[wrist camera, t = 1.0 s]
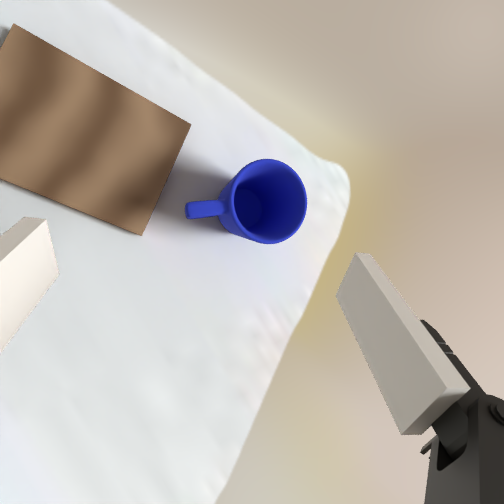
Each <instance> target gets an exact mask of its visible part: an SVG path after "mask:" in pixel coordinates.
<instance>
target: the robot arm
mask: <svg viewBox="0 0 504 504" xmlns="http://www.w3.org/2000/svg"><path fill="white" fill-rule="evenodd" d="M59 274H60V273H59V269H58V265H57V261H56V257H55V253H54V249H53V245H52V241H51V237H50V233H49V229H48V225H47V221H46V219H39V218H29V217H24V218H22V219H21V220H20V221H19V222H17V223H16V224H15V225H14V226H13V227H11V228H10V229H9V230H8V231H6V232H5V233H4V234H3V235H1V236H0V354H1V352H2V351H3V350H4V348H5V347H6V346H7V344H8V343H9V342H10V340H11V339H12V338H13V336H14V335H15V333H16V332H17V331H18V329H19V328H20V327H21V325H22V324H23V323H24V321H25V320H26V319H27V317H28V316H29V315H30V313H31V312H32V311H33V309H34V308H35V307H36V305H37V304H38V303H39V301H40V300H41V299H42V297H43V296H44V295H45V293H46V292H47V291H48V289H49V288H50V287H51V285H52V284H53V283H54V281H55V280H56V278H57V277H58V276H59ZM336 298H337V299H338V302H339V304H340V306H341V308H342V310H343V312H344V315H345V317H346V319H347V321H348V323H349V325H350V327H351V329H352V331H353V333H354V336H355V338H356V340H357V342H358V344H359V346H360V349H361V351H362V353H363V355H364V357H365V359H366V361H367V363H368V366H369V368H370V370H371V372H372V374H373V376H374V378H375V380H376V382H377V384H378V387H379V389H380V391H381V393H382V395H383V397H384V399H385V401H386V403H387V406H388V408H389V410H390V412H391V414H392V416H393V419H394V421H395V423H396V425H397V427H398V429H399V431H400V433H401V435H414V434H415V435H419V434H420V435H421V434H422V433H424V432H425V431H426V430H427V429H428V428H429V427H430V426H431V425H432V427H433V429H434V431H435V432H436V434H437V435H436V436H435V437H434V438H433V439H431V440H430V441H429V442H428V443H427V444H426V445H425V446H423V448H422V449H421V452H420V453H422V454H425V453H426V452H427V451H428V450H430V449H431V454H430V457H429V459H430V462H429V470H428V479H427V487H426V494H425V503H424V504H504V400H502V399H500V398H497V397H495V396H493V395H487V394H486V393H485V392H484V391H483V390H482V389H481V387H480V386H479V385H478V383H477V382H476V381H475V379H474V378H473V377H472V376H471V374H470V373H469V372H468V370H467V369H466V368H465V367H464V365H463V364H462V363H461V361H460V360H459V359H458V358H457V356H456V355H454V354H453V351H452V350H451V349H450V347H449V346H448V345H446V344H445V343H446V342H445V341H444V340H443V338H442V337H441V336H440V335H439V333H438V332H437V331H436V330H435V329H434V328H433V327H432V326H430V325H429V324H428V323H427V322H425V321H424V320H419V319H418V317H417V316H416V315H415V313H414V312H413V311H412V309H411V308H410V307H409V305H408V304H407V302H406V301H405V300H404V298H403V297H402V296H401V294H400V293H399V292H398V290H397V289H396V288H395V286H394V285H393V284H392V282H391V281H390V280H389V278H388V277H387V276H386V274H385V273H384V272H383V270H382V269H381V268H380V266H379V265H378V264H377V262H376V261H375V260H374V258H373V257H372V255H371V254H365V253H357V252H356V253H355V255H354V257H353V259H352V261H351V263H350V266H349V268H348V270H347V272H346V274H345V276H344V278H343V281H342V283H341V285H340V287H339V289H338V292H337V294H336Z"/></svg>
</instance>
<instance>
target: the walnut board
mask: <svg viewBox="0 0 504 504" xmlns="http://www.w3.org/2000/svg"><path fill="white" fill-rule="evenodd" d="M190 127H191V124H190V123H188V122H186V121H184V120H183V119H181V118H179V117H177V116H176V115H174V114H172V113H170V112H169V111H167V110H165V109H163V108H162V107H160V106H158V105H156V104H155V103H153V102H151V101H149V100H147V99H146V98H144V97H142V96H140V95H139V94H137V93H135V92H133V91H132V90H130V89H128V88H126V87H125V86H123V85H121V84H119V83H118V82H116V81H114V80H112V79H111V78H109V77H107V76H105V75H104V74H102V73H100V72H98V71H97V70H95V69H93V68H91V67H89V66H88V65H86V64H84V63H82V62H81V61H79V60H77V59H75V58H74V57H72V56H70V55H68V54H67V53H65V52H63V51H61V50H60V49H58V48H56V47H54V46H53V45H51V44H49V43H47V42H46V41H44V40H42V39H40V38H39V37H37V36H35V35H33V34H32V33H30V32H28V31H26V30H24V29H23V28H21V27H19V26H17V25H16V24H14V23H13V25H12V27H11V29H10V31H9V33H8V35H7V37H6V39H5V41H4V43H3V45H2V47H1V49H0V179H3V180H5V181H8V182H10V183H13V184H15V185H18V186H20V187H22V188H25V189H27V190H30V191H32V192H35V193H37V194H40V195H42V196H45V197H47V198H49V199H52V200H54V201H57V202H59V203H62V204H64V205H67V206H69V207H72V208H74V209H77V210H79V211H81V212H84V213H86V214H89V215H91V216H94V217H96V218H99V219H101V220H104V221H106V222H109V223H111V224H113V225H116V226H118V227H121V228H123V229H126V230H128V231H131V232H133V233H136V234H138V235H141V236H142V234H143V232H144V230H145V228H146V225H147V223H148V221H149V219H150V216H151V214H152V212H153V210H154V207H155V205H156V203H157V201H158V199H159V196H160V194H161V192H162V190H163V187H164V185H165V183H166V181H167V178H168V176H169V174H170V172H171V169H172V167H173V165H174V163H175V161H176V158H177V156H178V154H179V152H180V149H181V147H182V145H183V143H184V140H185V138H186V136H187V134H188V131H189V129H190Z"/></svg>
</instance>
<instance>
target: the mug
mask: <svg viewBox="0 0 504 504" xmlns="http://www.w3.org/2000/svg"><path fill="white" fill-rule="evenodd" d="M306 210H307V196H306V191H305V187H304V185H303V183H302V181H301V179H300V177H299V176H298V175H297V173H296V172H295V171H294V170H293V169H292V168H291V167H289V166H288V165H286V164H285V163H283V162H280V161H277V160H273V159H261V160H256V161H254V162H251V163H249V164H248V165H246V166H245V167H243V168H242V169H241V170H240V171H239V172H238V173H237V175H236V176H235V177H234V178H233V179H232V180H231V181H230V182H229V183H228V184H227V185H226V187H225V188H224V189H223V190H222V191H221V193H220V195H219V197H218V200H206V201H195V202H188V203H187V204H186V205H185V214H186V217H187V219H197V218H206V217H213V216H217V215H218V218H219V220H220V222H221V224H222V225H223V226H224V227H225V228H226V229H227V230H228V231H229V232H231V233H233V234H235V235H238V236H241V237H244V238H246V239H249V240H252V241H255V242H258V243H263V244H275V243H279V242H282V241H284V240H286V239H288V238H289V237H291V236H292V235H293V234H294V233H295V232H296V231H297V230H298V229H299V227H300V226H301V224H302V222H303V220H304V218H305V214H306Z"/></svg>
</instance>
